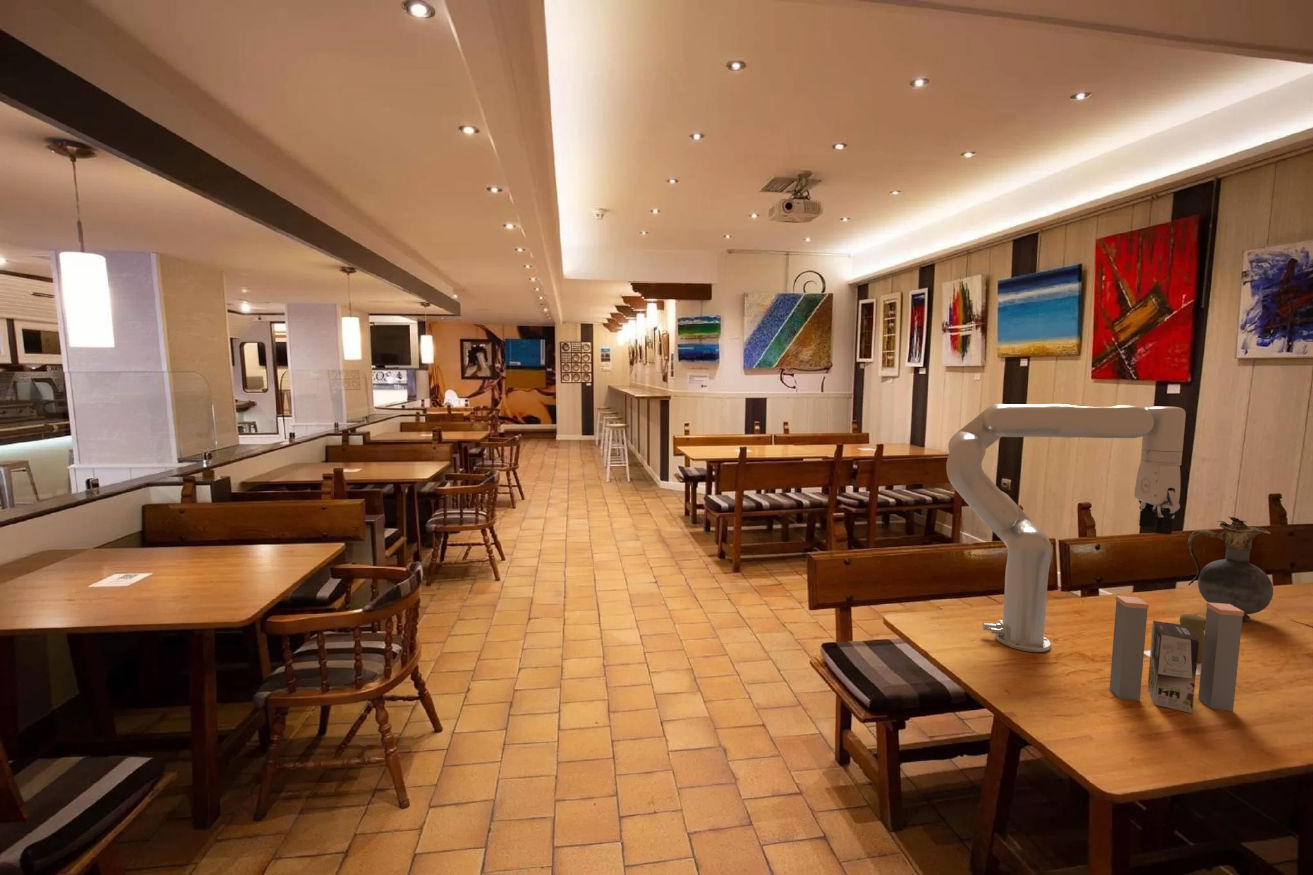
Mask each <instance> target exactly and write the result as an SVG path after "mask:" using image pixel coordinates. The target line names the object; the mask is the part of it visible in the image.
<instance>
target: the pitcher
mask: <svg viewBox="0 0 1313 875" xmlns="http://www.w3.org/2000/svg"><path fill="white" fill-rule="evenodd" d="M1228 518H1229V519H1230V520H1231V521H1232V522H1231V524H1228V523H1227V522H1226V521H1225V520H1217V523H1218V522H1220V523H1219V526H1220V528H1222V529H1223V530H1224V531H1223V532H1220V533H1217V532H1214V531H1211V530H1209V529H1197V530H1195V531H1193V532H1192V533H1190V535H1189V536H1188V539H1187V540H1188V541H1187V543H1186V544H1187V548H1188V550H1189V554H1190V555H1191V558H1192V560H1193V562H1194V564H1195V566H1196V568H1197V572H1196V575H1195V577H1194V578H1193V579H1192V580H1191V581H1190V582H1189V583H1188V586H1190V585H1191V584H1193V583H1194V582H1195V581H1196V580H1197V587H1198V590H1199V591H1198V592H1199V594H1201V597H1202V598H1203V599H1204V600H1205V601H1206V603H1207V602H1209V603H1223V604H1231V605H1233V606H1234V607H1236V608H1238V609H1240V610H1242V611H1244V616H1243V618H1242V623H1245V622H1246V623H1247V622H1250V621H1251V616H1250V615H1253V614H1256V613H1259V612H1261V611H1263V610H1265V609H1266V608H1268V606H1269V605H1270V602H1271V601H1272V599H1273V595H1274V586H1273V583H1272V581H1271V578H1270V577H1269V576H1268V574H1267V573H1266V572H1265V571H1264V570H1262V569H1261V568H1260V567H1258V566H1256V565H1255V564H1252V563H1250V556H1251V555H1250V554H1251V549H1253V548H1252V547H1253V546H1252V545H1253V544H1252V542H1253V540H1254V538H1255V537H1256V536H1257V535H1259V534H1261V533H1262V534H1266V535H1271V532H1270V531H1269V530H1266V529H1264V528H1262V527H1261V526H1255V525H1253V526H1252V525H1249V526H1248V525H1246V524H1245V523H1247V521H1246V520H1243V519H1239V518H1238V517H1234V516H1228ZM1198 536H1208V537H1211V538H1213V539H1216V540H1217V539H1218V540H1221V541H1222V542H1224V546H1225V547H1226V548H1225V557H1224V558H1223V559H1218V560H1213V561H1211V562H1209V563H1208V564H1206V565H1205V566H1203V568H1202V569H1201V567H1200V563H1199V562H1198V559H1197V556H1196V555H1195V552H1194V546H1193V545H1194V544H1193V543H1194V541H1195V540H1194V539H1195V538H1196V537H1198Z"/></svg>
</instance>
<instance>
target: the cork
mask: <svg viewBox="0 0 1313 875" xmlns="http://www.w3.org/2000/svg"><path fill="white" fill-rule="evenodd" d="M1205 622H1206V618H1205V617H1202V616H1200V615H1197V614H1193V613H1184V614H1182V615H1181V616H1179V624H1180V625H1186V626H1189V627H1190V629H1191V630H1192V631H1193V633H1194V634H1195V635H1196V637H1197V638H1198V639H1199V641H1200V642H1199V649H1198V659H1197V664H1202V654H1203V644H1204V633H1205Z"/></svg>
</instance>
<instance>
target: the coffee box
mask: <svg viewBox="0 0 1313 875" xmlns="http://www.w3.org/2000/svg"><path fill="white" fill-rule="evenodd" d="M1151 627H1152V628H1151V639H1150V652H1149V653H1150V654H1149V665H1148V666H1149V667H1148V680H1147V689H1148V691H1149V694H1150V696H1151V699H1152V701H1153V703H1154V705H1155V706H1159V707H1164V708H1167V709H1172V710H1177V711H1180V712H1185V713H1188V714H1191V713H1193V706H1194V699H1195V698H1194V697H1195V696H1194V695H1195V686H1196V676H1197V667H1198V663H1197V659H1198V649H1199V642H1200V641H1199V639H1198V638H1197V637H1196V635H1195V634H1194V633H1193V631H1192V630H1191V629H1190V627H1189V626H1186V625H1181V624H1180V623H1174V622H1173V623H1172V622H1164V621H1157V620H1152V626H1151Z"/></svg>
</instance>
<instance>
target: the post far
mask: <svg viewBox="0 0 1313 875" xmlns="http://www.w3.org/2000/svg"><path fill="white" fill-rule="evenodd" d="M1205 604H1206V606H1205V607H1206V614H1205V620H1206V622H1205V630H1204V644H1203V654H1202V663H1201V664H1200V665H1201V667H1200V675H1199V676H1200V677H1199V686H1198V696H1197V697H1198V700H1199V701H1200V702H1202V703H1203V705H1206V706H1207V707H1208V708H1209V709H1212V710H1220V711H1230V712H1233V711H1234V707H1235V706H1234V705H1235V696H1236V695H1235V694H1236V685H1237V676H1238V669H1239V668H1238V666H1239V657H1240V656H1239V655H1240V647H1241V637H1242V628H1243V626H1242V625H1243V621H1242V618H1243V616H1244V611H1242V610H1240V609H1238V608H1236V607H1234V606H1233V605H1231V604H1223V603H1209V602H1207V601H1206V603H1205Z"/></svg>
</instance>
